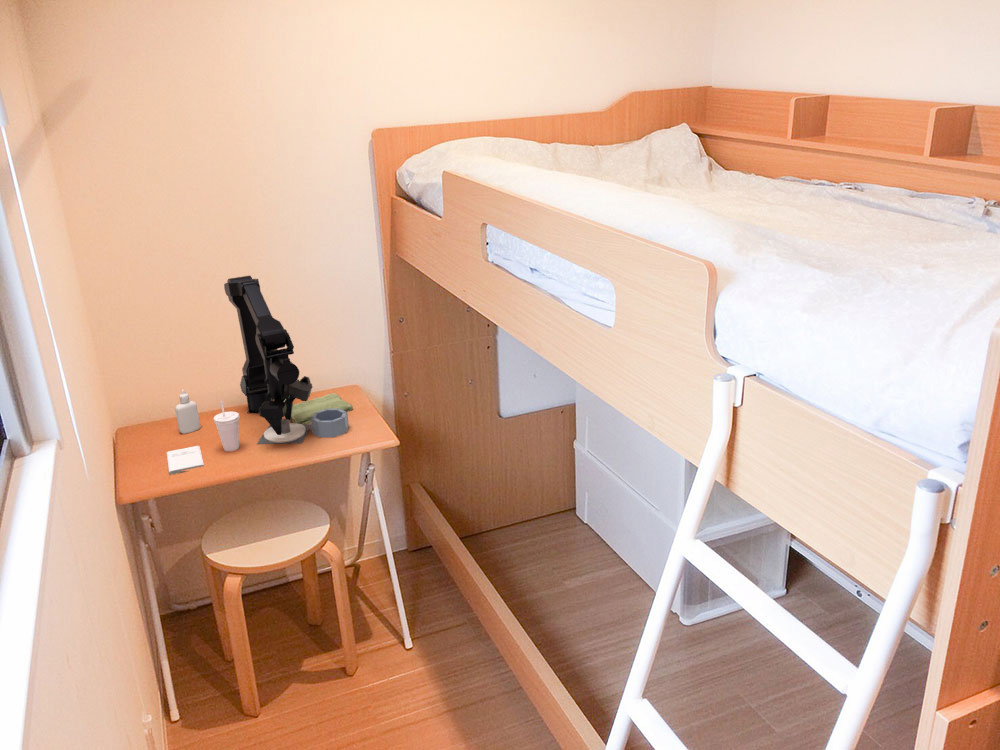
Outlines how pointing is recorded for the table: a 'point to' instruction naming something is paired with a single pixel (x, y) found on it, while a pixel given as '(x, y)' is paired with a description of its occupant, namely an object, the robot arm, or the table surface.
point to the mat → (298, 441)
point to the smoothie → (228, 429)
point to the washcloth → (317, 407)
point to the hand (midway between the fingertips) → (284, 427)
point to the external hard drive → (184, 459)
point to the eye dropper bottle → (187, 414)
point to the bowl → (329, 423)
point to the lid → (285, 432)
